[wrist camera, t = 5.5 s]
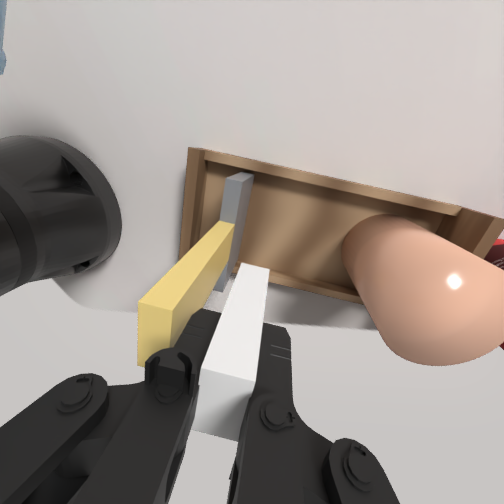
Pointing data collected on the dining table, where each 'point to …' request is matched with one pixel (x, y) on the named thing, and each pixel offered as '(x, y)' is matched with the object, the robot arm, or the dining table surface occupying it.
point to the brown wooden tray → (312, 219)
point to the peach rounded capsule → (425, 291)
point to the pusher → (194, 273)
